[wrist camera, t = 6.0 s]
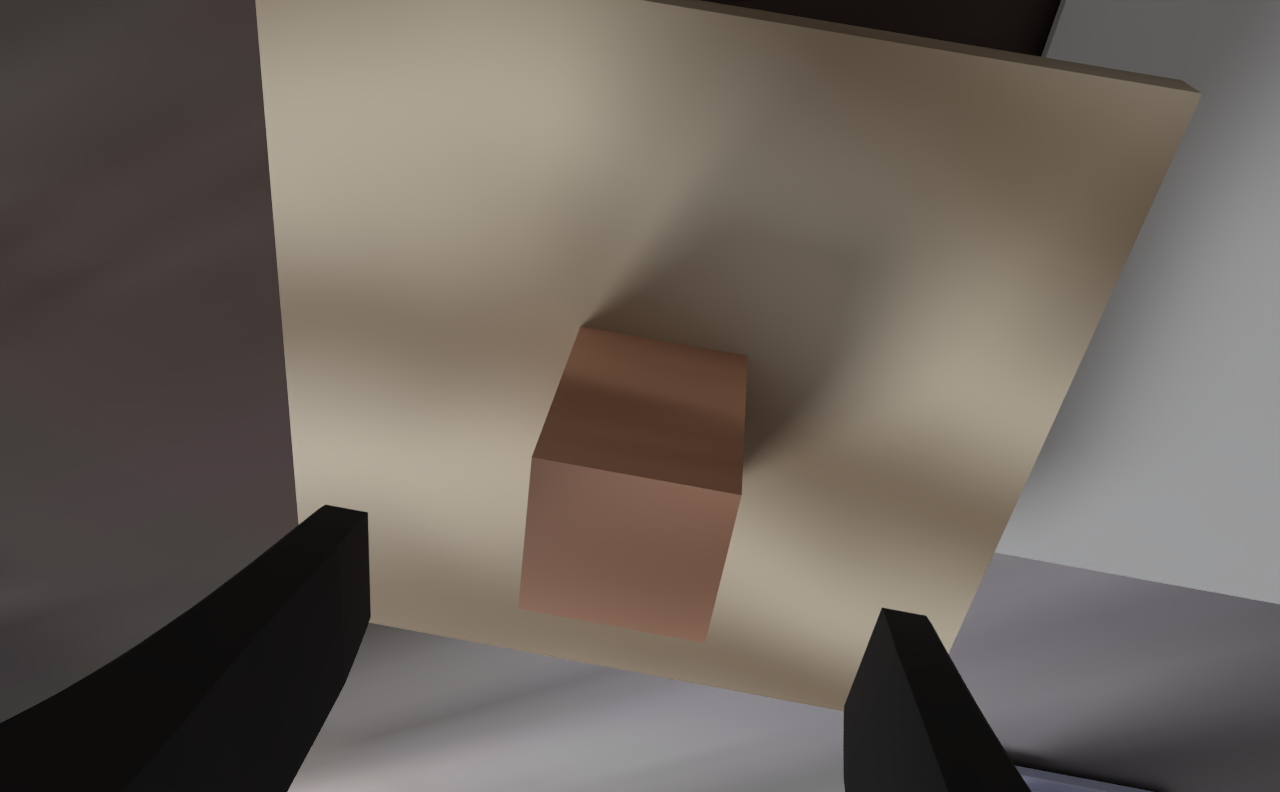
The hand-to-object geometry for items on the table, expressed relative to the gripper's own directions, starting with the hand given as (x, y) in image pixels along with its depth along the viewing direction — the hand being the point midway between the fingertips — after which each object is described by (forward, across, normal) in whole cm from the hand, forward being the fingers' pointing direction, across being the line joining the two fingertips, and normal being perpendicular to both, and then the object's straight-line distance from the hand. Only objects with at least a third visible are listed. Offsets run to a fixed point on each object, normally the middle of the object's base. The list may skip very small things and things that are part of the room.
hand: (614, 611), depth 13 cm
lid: (+6, 0, 0) cm, 6 cm away
